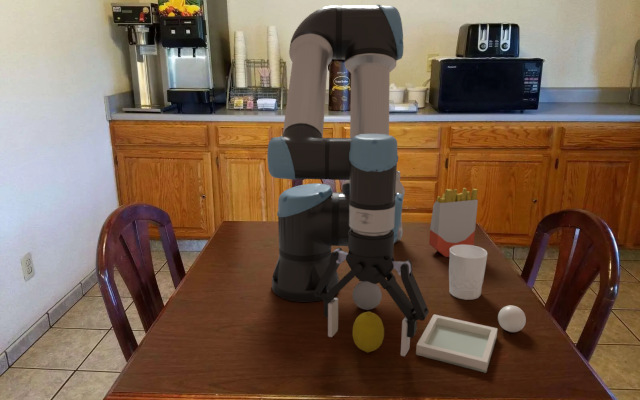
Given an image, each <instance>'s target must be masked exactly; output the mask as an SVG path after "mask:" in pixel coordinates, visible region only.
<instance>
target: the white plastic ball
mask: <svg viewBox="0 0 640 400" xmlns="http://www.w3.org/2000/svg"><path fill="white" fill-rule="evenodd" d="M497 314H498V315H497V322H498V324H499V326H500V327H501V328H502V329H503V330H505V331H506V332H509V333H517V332H520V331H521V330H522V329H523V328H524V327H525V326H526V322H527V319H526V313H525V312H524V311H523V310H522V309H521V308H520V307H518V306H516V305H510V304H509V305H506V306H503V307H502V308H500V310H499V312H498V313H497Z"/></svg>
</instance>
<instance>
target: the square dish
mask: <svg viewBox="0 0 640 400" xmlns="http://www.w3.org/2000/svg"><path fill="white" fill-rule="evenodd" d="M497 336H498V328H497V327H493V326H489V325H483V324H478V323H475V322H470V321H466V320H462V319H456V318H452V317H449V316H442V315H440V314H439V315H438V314H433V315H432V317H431V318H430V320H429V322H428V323H427V326H426V327H425V329H424V331H423V333H422V335H421V336H420V338H419V339H418V342H417V343H416V348H415V349H416V351H415V355H416V356H419V357H420V356H421V357H424V358H427V359H432V360H435V361H439V362H442V363H447V364H450V365H455V366H458V367H461V368H465V369H470V370H473V371H477V372H481V373H484V374H486V373H487V372H488V367H489V365H490V362H491V358H492V356H493V351H494V348H495V344H496V341H497Z"/></svg>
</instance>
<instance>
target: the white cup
mask: <svg viewBox="0 0 640 400" xmlns="http://www.w3.org/2000/svg"><path fill="white" fill-rule="evenodd" d="M448 258H449V260H448V261H449V263H448V282H449V284H448V286H449V288H448V289H449V294H450V295H451V296H453V297H454V298H457V299H461V300H465V301H467V300H476V299H479V297H480V296H481V295H482V287H483V283H484V277H485V272H486V268H487V267H486V266H487V258H488V251H487V249H485V248H483V247H481V246H478V245H477V246H476V245H455V246H452V247H451V248H450V252H449V257H448Z"/></svg>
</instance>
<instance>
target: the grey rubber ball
mask: <svg viewBox="0 0 640 400" xmlns="http://www.w3.org/2000/svg"><path fill="white" fill-rule="evenodd" d="M382 295H383V294H382V290H381V288H380V286H379V285H378V283H377V284H372V283H370V282H368V281H366V282H363V281H359V282H358V283H357V284H356V285H355V286H354V287H353V290H352V295H351V296H352V300H353V302H354V304H355V305H356V306H357V307H358V308H359V309H362V310H364V311H365V310H366V311H369V310H373V309H375V308H376V307H378V306H379V304H380V303H381V301H382Z"/></svg>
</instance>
